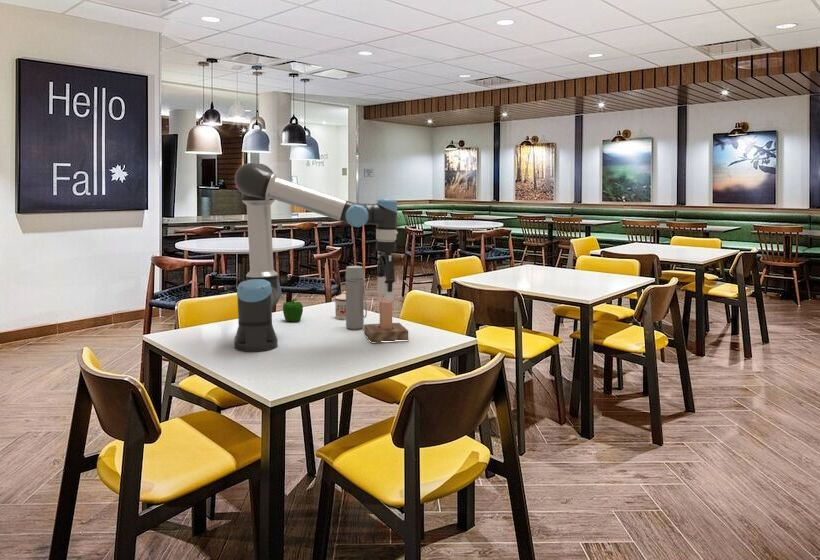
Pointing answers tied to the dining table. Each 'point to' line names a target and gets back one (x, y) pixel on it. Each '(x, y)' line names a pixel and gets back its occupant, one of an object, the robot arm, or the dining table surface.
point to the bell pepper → (292, 310)
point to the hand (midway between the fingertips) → (384, 297)
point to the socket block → (385, 332)
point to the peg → (385, 315)
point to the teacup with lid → (340, 306)
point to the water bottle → (355, 297)
